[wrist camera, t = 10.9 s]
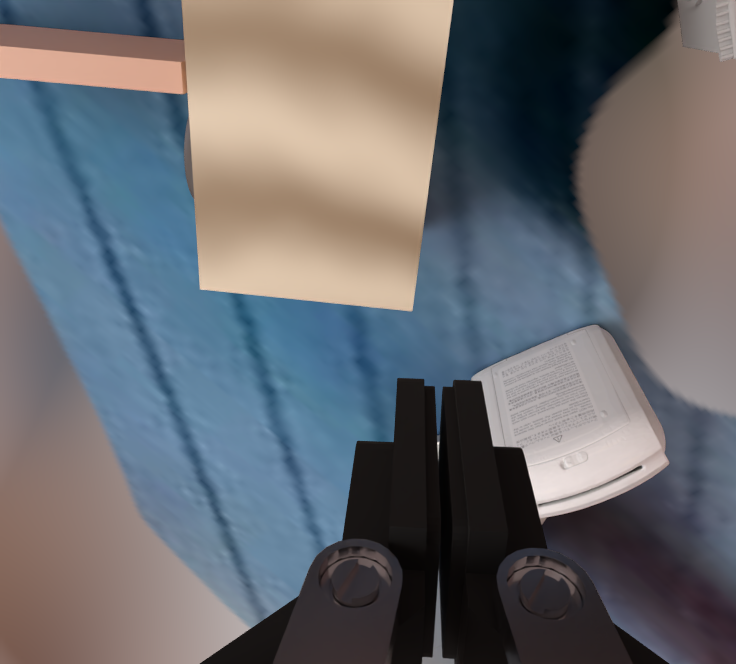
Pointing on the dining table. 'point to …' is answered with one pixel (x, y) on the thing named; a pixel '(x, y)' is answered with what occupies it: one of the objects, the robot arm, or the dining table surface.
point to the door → (93, 59)
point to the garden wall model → (709, 26)
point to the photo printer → (574, 420)
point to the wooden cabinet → (313, 144)
